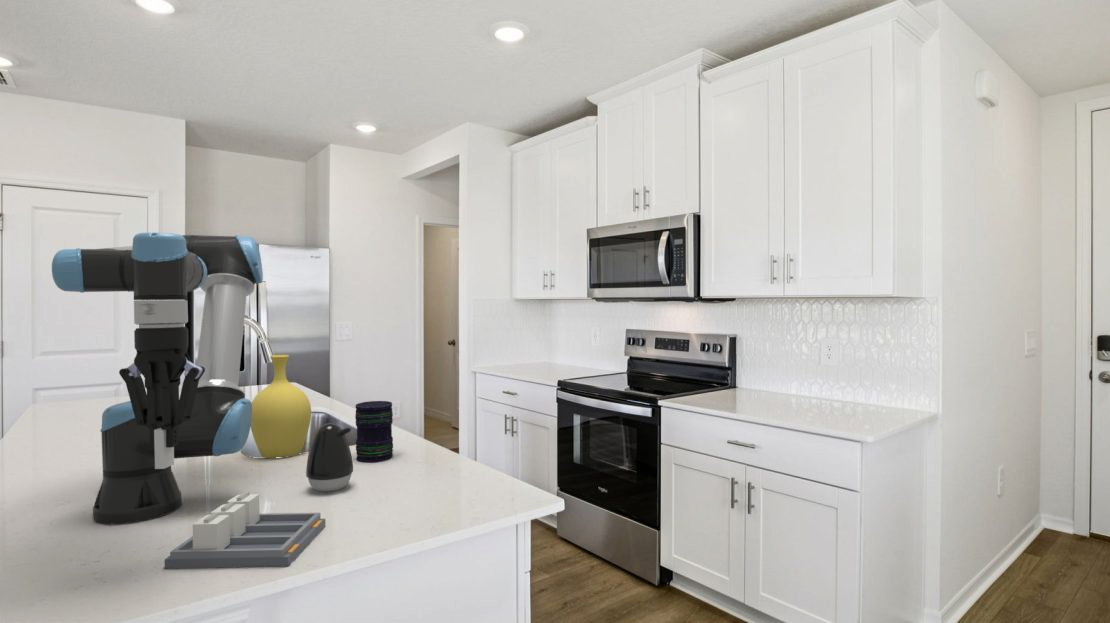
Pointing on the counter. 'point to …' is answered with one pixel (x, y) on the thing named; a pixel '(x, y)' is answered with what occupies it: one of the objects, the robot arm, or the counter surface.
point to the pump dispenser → (329, 459)
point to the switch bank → (255, 544)
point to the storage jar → (374, 431)
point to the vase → (280, 415)
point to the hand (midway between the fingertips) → (164, 466)
